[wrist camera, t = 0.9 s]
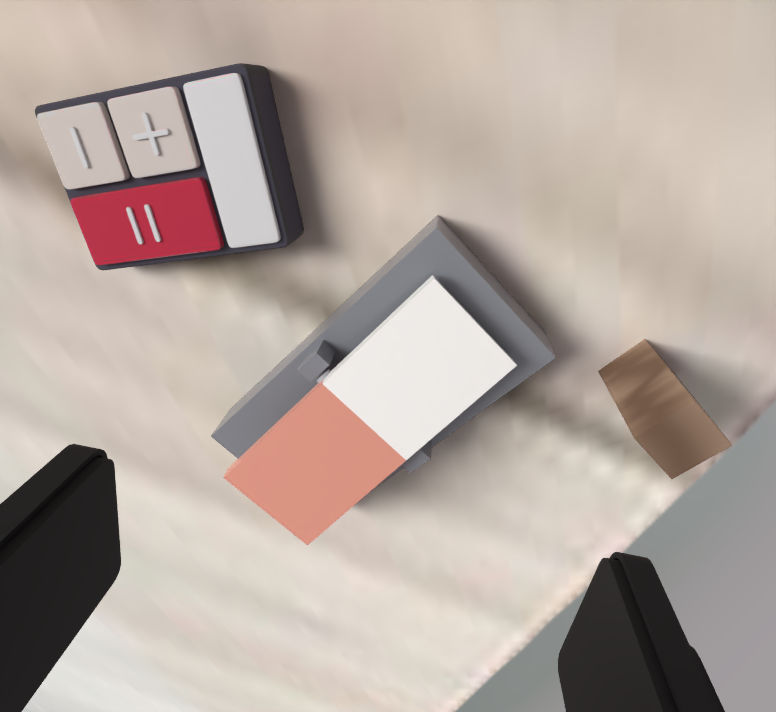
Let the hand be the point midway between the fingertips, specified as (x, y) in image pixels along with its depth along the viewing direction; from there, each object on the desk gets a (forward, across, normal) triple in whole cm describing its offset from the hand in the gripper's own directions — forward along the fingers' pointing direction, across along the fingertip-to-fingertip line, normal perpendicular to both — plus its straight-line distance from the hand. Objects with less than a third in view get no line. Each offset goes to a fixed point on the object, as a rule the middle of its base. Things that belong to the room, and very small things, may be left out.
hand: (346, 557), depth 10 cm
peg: (+30, -18, +7) cm, 36 cm away
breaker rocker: (+24, +1, +12) cm, 27 cm away
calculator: (+31, +17, -1) cm, 35 cm away
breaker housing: (+31, +1, +12) cm, 33 cm away
